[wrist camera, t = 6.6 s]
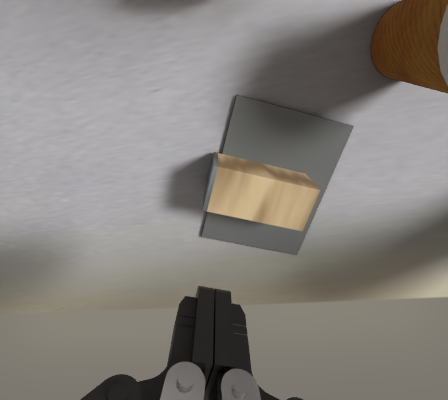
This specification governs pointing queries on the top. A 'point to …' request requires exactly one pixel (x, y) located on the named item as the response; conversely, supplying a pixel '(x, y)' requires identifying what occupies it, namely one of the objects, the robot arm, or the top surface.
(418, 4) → the disposable coffee cup
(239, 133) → the mat
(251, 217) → the oak block
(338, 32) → the top surface
